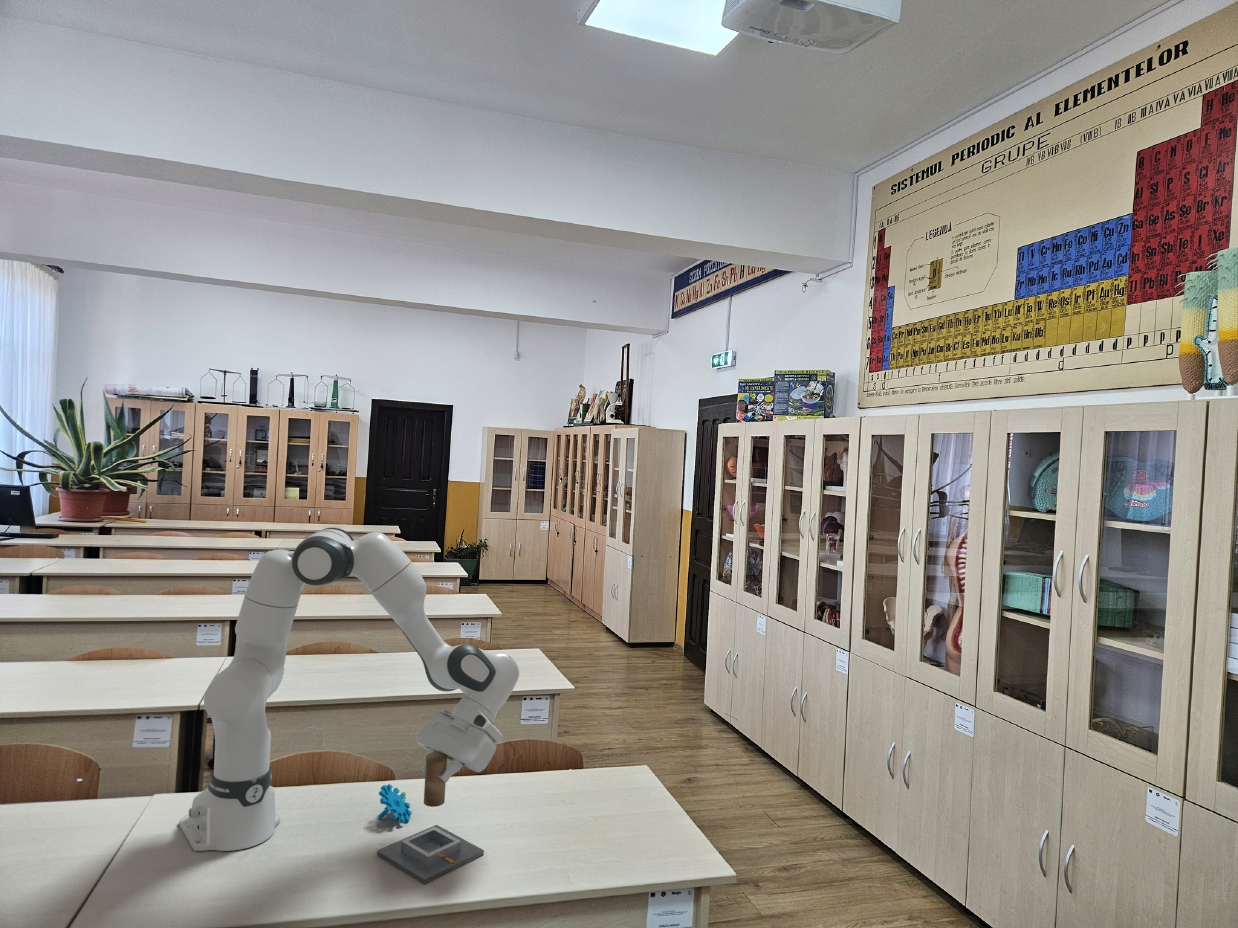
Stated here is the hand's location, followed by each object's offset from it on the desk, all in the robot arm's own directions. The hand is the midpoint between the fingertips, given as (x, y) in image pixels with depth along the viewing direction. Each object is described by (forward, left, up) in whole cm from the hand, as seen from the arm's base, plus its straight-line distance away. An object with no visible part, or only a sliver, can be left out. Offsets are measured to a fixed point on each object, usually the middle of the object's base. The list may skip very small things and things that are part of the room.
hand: (433, 775), depth 168 cm
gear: (-19, +5, -18) cm, 26 cm away
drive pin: (0, +1, -6) cm, 6 cm away
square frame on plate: (0, +1, -17) cm, 17 cm away
